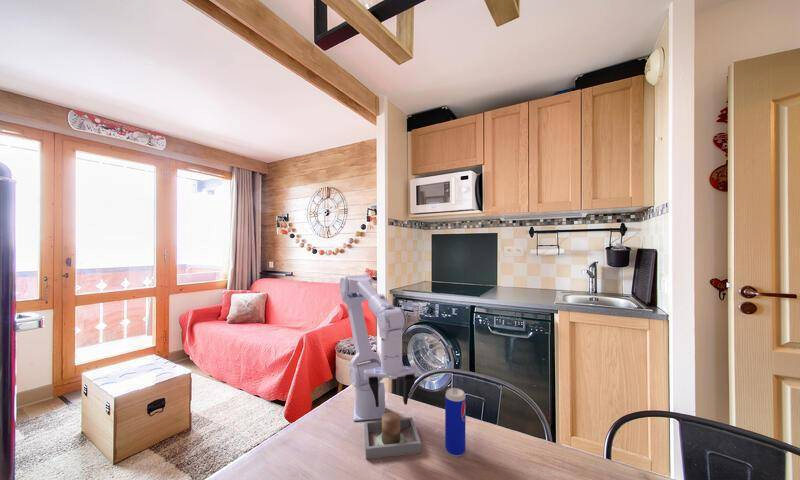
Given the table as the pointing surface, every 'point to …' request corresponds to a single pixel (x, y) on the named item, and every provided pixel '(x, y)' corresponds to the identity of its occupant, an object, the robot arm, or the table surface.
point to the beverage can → (455, 421)
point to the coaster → (379, 442)
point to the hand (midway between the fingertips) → (391, 403)
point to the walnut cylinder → (390, 428)
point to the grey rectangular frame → (391, 448)
